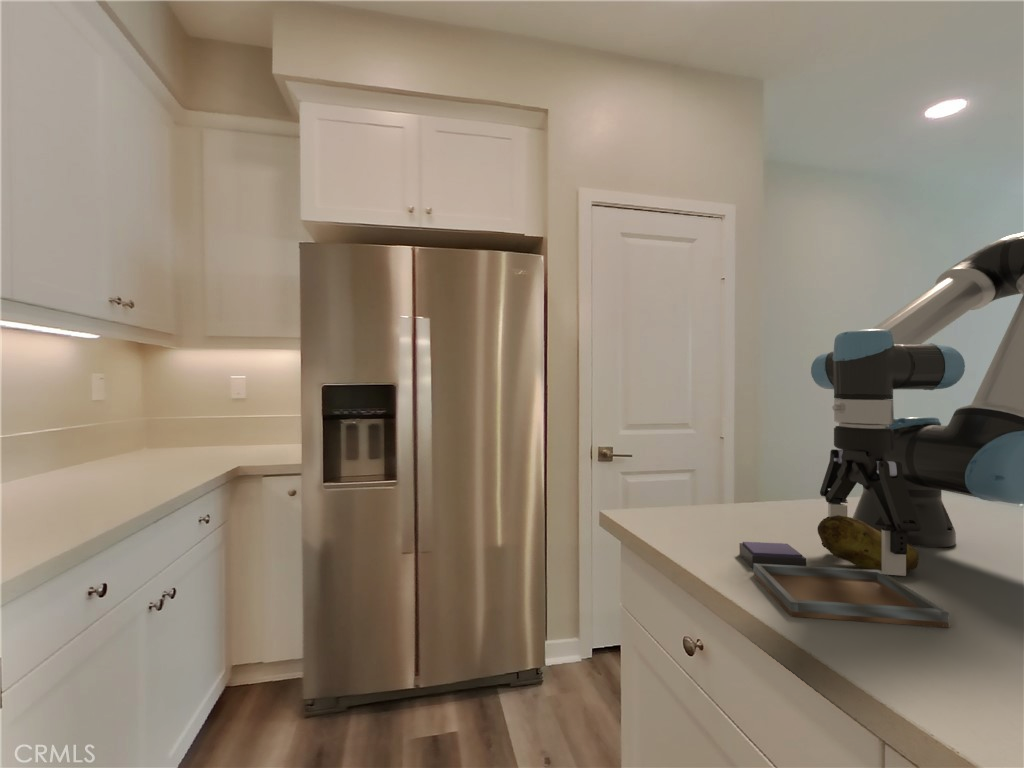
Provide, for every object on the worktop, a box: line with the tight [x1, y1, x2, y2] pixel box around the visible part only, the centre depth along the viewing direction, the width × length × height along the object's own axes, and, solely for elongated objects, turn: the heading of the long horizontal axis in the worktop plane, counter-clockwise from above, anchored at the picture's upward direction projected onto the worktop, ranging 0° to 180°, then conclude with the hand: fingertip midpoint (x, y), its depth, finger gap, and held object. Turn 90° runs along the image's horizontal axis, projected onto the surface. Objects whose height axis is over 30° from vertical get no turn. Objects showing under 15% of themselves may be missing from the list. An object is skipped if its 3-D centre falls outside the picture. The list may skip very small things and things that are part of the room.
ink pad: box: [739, 541, 807, 569], centre depth 73 cm, size 8×6×2 cm
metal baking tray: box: [753, 563, 950, 628], centre depth 60 cm, size 18×13×2 cm
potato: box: [817, 515, 920, 573], centre depth 70 cm, size 8×13×8 cm, turn 53°
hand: (863, 557), depth 70 cm, fingers open, 13 cm apart
